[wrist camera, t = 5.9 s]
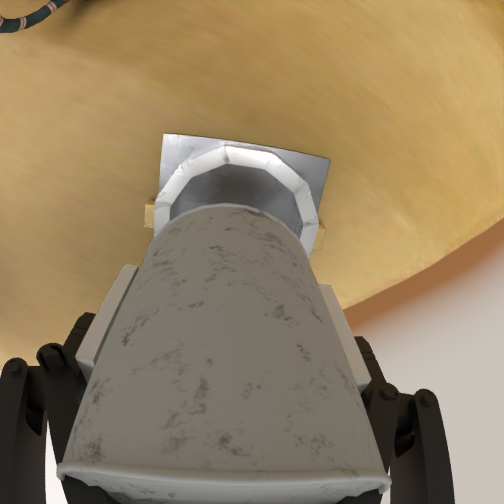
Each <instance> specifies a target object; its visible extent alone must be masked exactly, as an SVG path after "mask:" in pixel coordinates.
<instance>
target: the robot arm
mask: <svg viewBox="0 0 504 504" xmlns="http://www.w3.org/2000/svg"><path fill="white" fill-rule="evenodd" d="M137 272H138V265H130V264H124V266H123V268H122V269H121V271H120V273H119V275H118V276H117V278H116V280H115V281H114V283H113V285H112V287H111V288H110V290H109V292H108V294H107V295H106V297H105V299H104V301H103V303H102V305H101V306H100V308H99V310H98V312H97V314H93V313H88V312H86V313H84V314H83V315H82V316H81V317H79V318H78V320H77V322H76V323H75V325H74V328H73V329H72V330H71V332H70V334H69V336H68V338H67V340H66V341H65V343H64V345H63V346H62V345H60V344H57V343H49V344H46V345H44V346H42V347H41V348H40V349H39V351H38V352H37V356H36V358H37V360H38V362H39V364H40V366H28V365H27V363H26V361H24V360H23V359H21V358H12V359H10V360H8V361H7V362H6V363H5V365H4V367H3V370H2V373H1V377H0V504H46V492H45V452H46V451H45V450H46V434H47V422H49V428H50V435H51V440H52V445H53V451H54V455H55V459H56V464H57V465H58V464H59V463H62V462H63V458H64V454H65V451H66V448H67V444H68V441H69V438H70V434H71V431H72V428H73V425H74V422H75V419H76V416H77V413H78V410H79V407H80V404H81V401H82V399H83V396H84V393H85V390H86V388H87V385H88V382H89V380H90V377H91V375H92V372H93V370H94V367H95V365H96V362H97V360H98V357H99V355H100V352H101V350H102V348H103V345H104V343H105V341H106V338H107V336H108V334H109V331H110V329H111V327H112V325H113V322H114V320H115V318H116V316H117V314H118V311H119V309H120V307H121V305H122V303H123V301H124V299H125V297H126V295H127V293H128V290H129V288H130V286H131V284H132V282H133V280H134V278H135V276H136V274H137ZM318 286H319V288H320V290H321V293H322V295H323V298H324V300H325V303H326V305H327V308H328V310H329V313H330V315H331V318H332V320H333V323H334V325H335V328H336V331H337V333H338V336H339V338H340V341H341V344H342V346H343V349H344V352H345V354H346V357H347V360H348V362H349V365H350V368H351V370H352V373H353V376H354V379H355V381H356V384H357V387H358V390H359V393H360V396H361V398H362V401H363V404H364V407H365V410H366V413H367V416H368V419H369V422H370V425H371V428H372V431H373V434H374V437H375V440H376V444H377V447H378V450H379V453H380V456H381V460H382V463H383V466H384V469H385V472H386V473H387V474H388V470H389V466H390V477H391V480H392V484H391V486H390V488H391V490H390V493H391V494H390V498H391V499H390V504H455V499H454V488H453V479H452V472H451V464H450V458H449V451H448V446H447V440H446V436H445V430H444V426H443V421H442V416H441V412H440V408H439V403H438V400H437V398H436V396H435V394H434V393H433V392H431V391H430V390H427V389H420V390H418V391H417V392H416V393H415V394H414V395H410V394H404V393H399V391H398V390H397V388H396V387H395V386H394V385H392V384H390V383H387V382H386V380H385V378H384V376H383V373H382V371H381V369H380V367H379V364H378V362H377V360H376V359H375V355H374V354H373V351H372V349H371V347H370V345H369V343H368V342H367V341H366V340H365V339H364V338H363V337H361V336H359V337H354V336H353V334H352V332H351V330H350V327H349V325H348V323H347V320H346V318H345V316H344V314H343V312H342V309H341V307H340V305H339V303H338V300H337V298H336V296H335V294H334V292H333V290H332V287H331V285H327V284H318ZM61 483H62V487H63V490H64V493H65V497H66V500H67V502H68V504H122V503H120V502H118V501H116V500H115V499H113V498H112V497H111V496H110V495H109V494H108V493H107V492H106V491H104V490H103V489H102V488H101V487H99V486H88V485H87V484H86V483H84V482H83V481H82V480H79V479H76V478H74V477H71V476H68V475H65V478H64V481H62V480H61ZM382 495H383V494H379V490H378V488H377V489H373V490H369V491H366V492H363V493H362V494H360V495H359V496H357V497H355V496H346V497H344V498H343V499H342V500H340V501H339V502H337V503H336V504H380V503H381V499H382Z"/></svg>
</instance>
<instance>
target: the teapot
mask: <svg viewBox="0 0 504 504" xmlns="http://www.w3.org/2000/svg"><path fill="white" fill-rule="evenodd" d="M68 1H69V0H51V1H50V2H48V3H47V4H46V5H44V6H43V7H42V8H40V9H39V10H38V11H36V12H33V13H31V14H29V15H27V16H24V17H20V18H16V19H5V18H4V17H2V16H1V15H0V33H13V32H16V31H20V30H23V29H27V28H29V27H31V26H33V25H35V24H37V23H39V22H41V21H43V20H44V19H45V18H47V17H48V16H49V15H50V14H52V13H53V12H54V11H55V10H57V9H58V8H59V7H61V6H62V5H63V4H65V3H67V2H68ZM86 1H89V0H86Z"/></svg>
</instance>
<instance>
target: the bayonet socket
mask: <svg viewBox="0 0 504 504" xmlns="http://www.w3.org/2000/svg"><path fill="white" fill-rule="evenodd" d="M329 164H330V159H328V158H324V157H320V156H315V155H311V154H306V153H301V152H297V151H292V150H287V149H281V148H276V147H271V146H265V145H259V144H253V143H247V142H240V141H233V140H226V139H219V138H211V137H202V136H193V135H183V134H172V133H164V135H163V144H162V154H161V165H160V177H159V191H158V197H157V198H156V200H155V201H150V200H148V201H147V203H146V204H145V224H144V227H149V228H154V237H155V236H156V234H157V233H158V232H159V231H160V230H161V229H162V228H163V227H164V226H165V225H166V223H168V222H169V221H171V220H172V219H174V218H175V217H177V216H178V215H180V214H182V213H183V212H186V211H189V210H191V209H194V208H197V207H200V206H203V205H211V204H219V203H231V204H240V205H247V206H250V207H253V208H256V209H259V210H262V211H265V212H267V213H269V214H271V215H272V216H274V217H276V218H277V219H279V220H280V221H282V222H284V223H285V224H286V225H287V226H288V227H289V228H290V229H291V230H292V231H293V232H294V233H295V234H296V236H297V237H298V238H299V240H300V242H301V244H302V245H303V247H304V249H305V251H306V253H307V256H308V260H309V258H310V255H311V251H312V249H314V250H320V249H321V245H322V242H323V239H324V235H325V232H326V228H325V227H324V225H321V224H319V220H318V216H317V211H318V207H319V204H320V200H321V196H322V192H323V188H324V184H325V180H326V176H327V172H328V168H329Z"/></svg>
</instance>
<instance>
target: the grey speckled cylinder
mask: <svg viewBox="0 0 504 504" xmlns="http://www.w3.org/2000/svg"><path fill="white" fill-rule="evenodd" d="M56 473H57V477H58V478H59V479H60V480H62V481H64V478H65V475H68V476H71V477H74V478H76V479H79V480H82V481H83V482H84V483H86V484H87V485H88V486H99V487H101V488H102V489H103V490H104V491H106V492H107V493H108V494H109V495H110V496H111V497H112V498H113V499H115V500H116V501H118V502H120V503H122V504H336V503H337V502H339V501H340V500H342V499H343V498H344V497H346V496H355V497H357V496H359V495H360V494H362V493H363V492H366V491H369V490H373V489H377V488H378V490H379V494H383V493H384V492H386V491H387V490H388V489H389V487H390V486H391V484H392V480H391V477H390V476H389V475H388V474H387V473H386V472H385V469H384V466H383V463H382V460H381V456H380V453H379V450H378V447H377V444H376V440H375V437H374V434H373V431H372V428H371V425H370V422H369V419H368V416H367V413H366V410H365V407H364V404H363V401H362V398H361V396H360V393H359V390H358V387H357V384H356V381H355V379H354V376H353V373H352V370H351V368H350V365H349V362H348V360H347V357H346V354H345V352H344V349H343V346H342V344H341V341H340V338H339V336H338V333H337V331H336V328H335V325H334V323H333V320H332V318H331V315H330V313H329V310H328V308H327V305H326V303H325V300H324V298H323V295H322V293H321V290H320V288H319V286H318V283H317V281H316V278H315V276H314V274H313V271H312V269H311V266H310V264H309V260H308V256H307V253H306V251H305V249H304V247H303V245H302V244H301V242H300V240H299V238H298V237H297V236H296V234H295V233H294V232H293V231H292V230H291V229H290V228H289V227H288V226H287V225H286V224H285V223H284V222H282V221H280V220H279V219H277V218H276V217H274V216H272V215H271V214H269V213H267V212H265V211H262V210H259V209H256V208H253V207H250V206H247V205H240V204H231V203H219V204H211V205H203V206H200V207H197V208H194V209H191V210H189V211H186V212H183V213H182V214H180V215H178V216H177V217H175V218H174V219H172V220H171V221H169V222H168V223H166V225H165V226H164V227H163V228H162V229H161V230H160V231H159V232H158V233H157V234H156V236H155V237H154V238H153V240H152V242H151V244H150V246H149V248H148V250H147V252H146V255H145V259H144V261H143V263H142V265H141V267H140V269H139V270H138V272H137V274H136V276H135V278H134V280H133V282H132V284H131V286H130V288H129V290H128V293H127V295H126V297H125V299H124V301H123V303H122V305H121V307H120V309H119V311H118V314H117V316H116V318H115V320H114V322H113V325H112V327H111V329H110V331H109V334H108V336H107V338H106V341H105V343H104V345H103V348H102V350H101V352H100V355H99V357H98V360H97V362H96V365H95V367H94V370H93V372H92V375H91V377H90V380H89V382H88V385H87V388H86V390H85V393H84V396H83V399H82V401H81V404H80V407H79V410H78V413H77V416H76V419H75V422H74V425H73V428H72V431H71V434H70V438H69V441H68V444H67V448H66V451H65V454H64V458H63V462H62V463H59V464H58V465H57V472H56Z"/></svg>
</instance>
